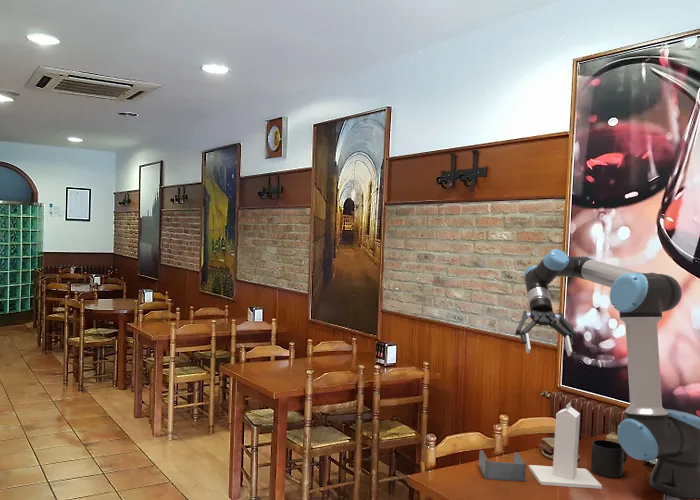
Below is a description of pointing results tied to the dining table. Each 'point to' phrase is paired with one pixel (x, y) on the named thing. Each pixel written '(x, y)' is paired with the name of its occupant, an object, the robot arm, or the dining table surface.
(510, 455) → the dining table surface
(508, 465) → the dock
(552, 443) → the toy sandwich meal
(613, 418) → the hand bell
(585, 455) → the dining table surface
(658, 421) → the robot arm
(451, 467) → the dining table surface
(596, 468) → the mug
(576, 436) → the milk
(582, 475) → the board
